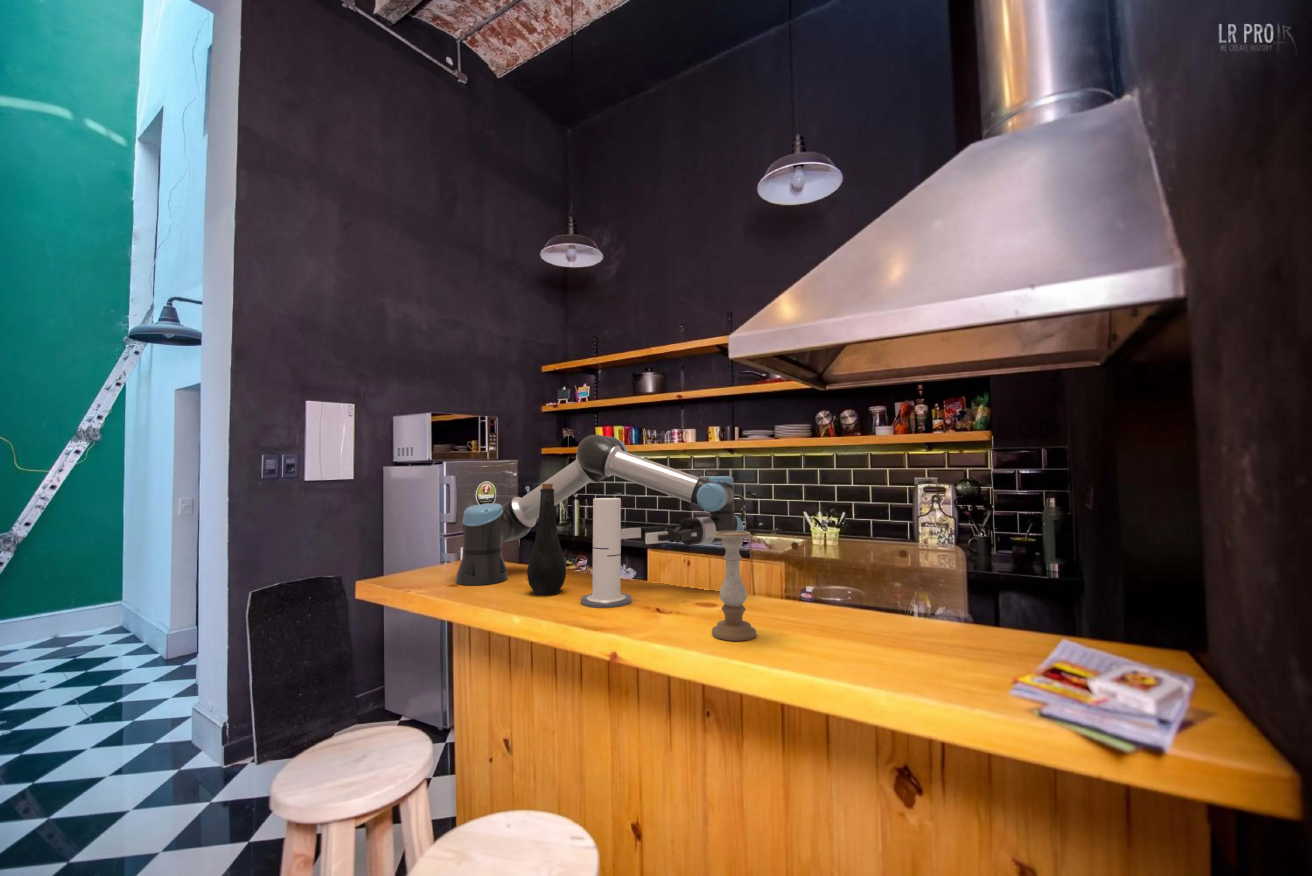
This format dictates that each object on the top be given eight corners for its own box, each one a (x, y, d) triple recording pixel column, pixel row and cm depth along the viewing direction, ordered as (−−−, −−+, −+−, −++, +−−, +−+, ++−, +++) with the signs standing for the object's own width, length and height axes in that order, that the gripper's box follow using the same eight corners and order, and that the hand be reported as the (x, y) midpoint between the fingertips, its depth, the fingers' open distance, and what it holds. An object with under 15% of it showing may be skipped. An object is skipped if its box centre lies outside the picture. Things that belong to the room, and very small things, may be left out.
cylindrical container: (594, 593, 138) (595, 498, 140) (621, 593, 138) (622, 498, 139) (590, 600, 131) (591, 499, 133) (619, 600, 131) (619, 499, 132)
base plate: (572, 600, 136) (572, 595, 136) (616, 593, 143) (616, 589, 143) (595, 610, 125) (595, 605, 125) (641, 602, 132) (641, 598, 132)
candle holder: (740, 644, 99) (737, 535, 100) (703, 635, 105) (701, 532, 106) (764, 634, 105) (762, 531, 107) (728, 626, 111) (726, 529, 113)
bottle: (570, 588, 150) (570, 483, 152) (560, 597, 139) (560, 484, 142) (534, 588, 151) (535, 483, 153) (521, 596, 140) (522, 484, 143)
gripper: (725, 548, 140) (658, 556, 128) (671, 540, 161) (610, 545, 149) (724, 520, 141) (658, 525, 129) (671, 515, 161) (610, 519, 150)
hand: (632, 536), depth 139 cm, fingers open, 13 cm apart
